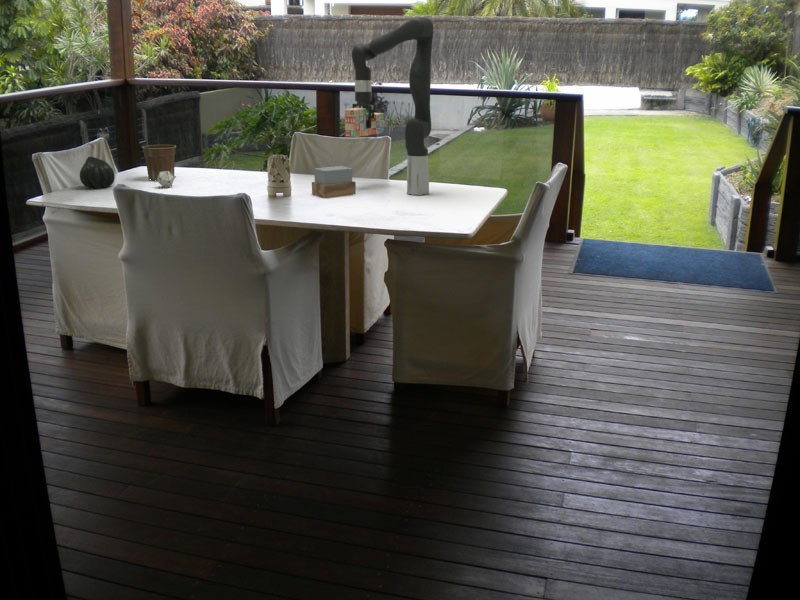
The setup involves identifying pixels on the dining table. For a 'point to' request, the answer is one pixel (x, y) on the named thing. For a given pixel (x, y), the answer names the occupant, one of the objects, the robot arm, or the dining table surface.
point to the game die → (165, 178)
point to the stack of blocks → (362, 123)
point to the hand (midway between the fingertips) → (363, 127)
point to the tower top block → (333, 175)
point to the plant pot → (159, 159)
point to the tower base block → (333, 189)
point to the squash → (96, 173)
